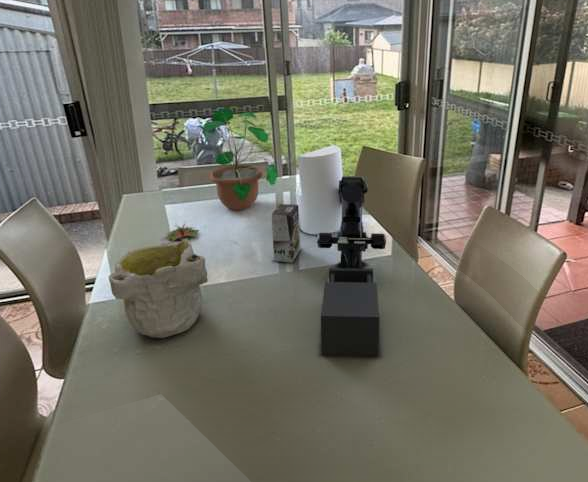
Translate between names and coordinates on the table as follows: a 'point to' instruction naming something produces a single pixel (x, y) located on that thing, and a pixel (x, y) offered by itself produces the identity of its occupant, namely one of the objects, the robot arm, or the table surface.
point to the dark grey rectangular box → (350, 319)
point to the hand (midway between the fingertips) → (351, 271)
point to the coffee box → (285, 232)
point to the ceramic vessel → (160, 287)
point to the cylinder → (320, 190)
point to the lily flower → (181, 233)
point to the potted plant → (237, 179)
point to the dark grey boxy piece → (351, 275)
